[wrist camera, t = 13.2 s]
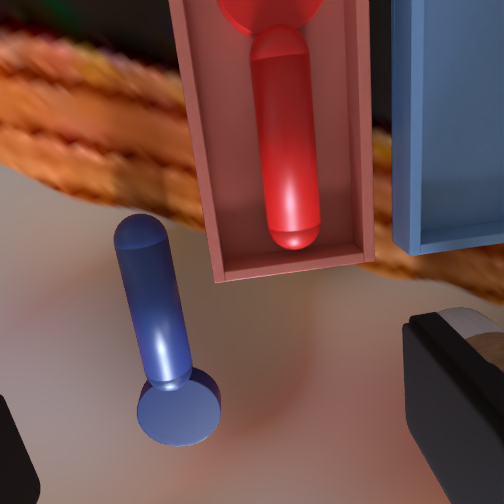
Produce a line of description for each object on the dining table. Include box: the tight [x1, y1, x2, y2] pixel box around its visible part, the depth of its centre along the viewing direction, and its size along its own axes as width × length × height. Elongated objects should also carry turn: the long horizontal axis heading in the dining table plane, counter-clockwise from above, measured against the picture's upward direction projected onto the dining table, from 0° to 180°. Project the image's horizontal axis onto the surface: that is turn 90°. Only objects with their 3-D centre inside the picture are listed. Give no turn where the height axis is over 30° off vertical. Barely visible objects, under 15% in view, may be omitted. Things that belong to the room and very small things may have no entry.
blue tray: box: [391, 0, 504, 256], centre depth 21 cm, size 9×18×2 cm, turn 6°
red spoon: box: [216, 0, 323, 250], centre depth 21 cm, size 16×5×3 cm, turn 7°
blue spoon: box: [114, 214, 221, 446], centre depth 25 cm, size 16×5×3 cm, turn 7°
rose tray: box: [169, 0, 375, 283], centre depth 21 cm, size 9×18×2 cm, turn 7°
